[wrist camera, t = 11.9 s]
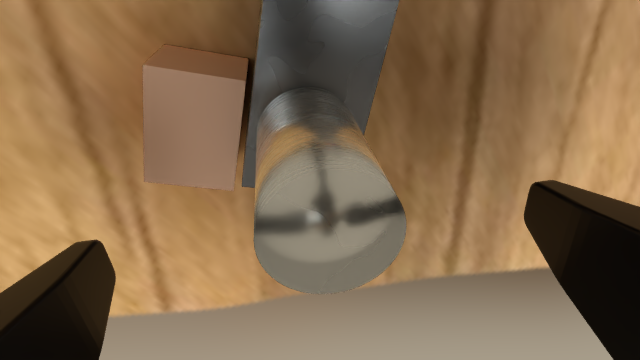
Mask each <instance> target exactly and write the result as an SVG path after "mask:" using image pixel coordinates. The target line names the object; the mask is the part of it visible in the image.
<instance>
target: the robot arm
mask: <svg viewBox="0 0 640 360" xmlns="http://www.w3.org/2000/svg"><path fill="white" fill-rule="evenodd" d="M524 221H525V224H526V226H527V228H528V230H529V231H530V233H531V235H532V237H533V239H534V240H535V242H536V244H537V246H538V247H539V249H540V251H541V253H542V254H543V256H544V258H545V260H546V261H547V263H548V265H549V267H550V268H551V270H552V272H553V274H554V275H555V277H556V278H557V280H558V282H559V283H560V285H561V286H562V288H563V289H564V291H565V292H566V294H567V295H568V296H569V298H570V299H571V301H572V302H573V303H574V305H575V306H576V308H577V309H578V310H579V312H580V313H581V315H582V316H583V318H584V319H585V320H586V322H587V323H588V325H589V326H590V327H591V329H592V330H593V332H594V333H595V334H596V336H597V337H598V338H599V340H600V341H601V343H602V344H603V346H604V347H605V348H606V350H607V351H608V352H609V354H610V355H611V357H612V358H613V360H640V207H638V206H635V205H632V204H629V203H626V202H622V201H619V200H616V199H613V198H609V197H606V196H603V195H600V194H597V193H593V192H590V191H587V190H584V189H581V188H577V187H574V186H571V185H568V184H564V183H561V182H558V181H555V180H547V181H540V182H535V183H533V184H532V185H531V187H530V189H529V194H528V198H527V202H526V207H525V211H524ZM115 280H116V276H115V271H114V268H113V266H112V263H111V261H110V259H109V257H108V254H107V252H106V250H105V248H104V246H103V244H102V243H101V242H100V241H98V240H89V241H81V242H77V243H75V244H73V245H71V246H70V247H68V248H67V249H65V250H64V251H62V252H61V253H59V254H58V255H56V256H55V257H54V258H52V259H51V260H49V261H48V262H46V263H45V264H43V265H42V266H40V267H39V268H37V269H36V270H34V271H33V272H31V273H30V274H28V275H27V276H25V277H24V278H22V279H21V280H19V281H18V282H16V283H15V284H13V285H12V286H10V287H9V288H7V289H6V290H4V291H3V292H1V293H0V360H99V356H100V353H101V349H102V345H103V341H104V336H105V331H106V326H107V321H108V316H109V311H110V306H111V301H112V296H113V291H114V286H115Z"/></svg>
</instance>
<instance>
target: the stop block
mask: <svg viewBox="0 0 640 360" xmlns="http://www.w3.org/2000/svg"><path fill="white" fill-rule="evenodd" d="M247 68H248V58H242V57H236V56H230V55H225V54H219V53H213V52H207V51H201V50H195V49H189V48H183V47H177V46H172V45H166V44H164V45H163V46H162V47H161V48H160V49H159V50H158V51H157V52H155V53H154V54H153V55H152V56H151V57H150V58H149V59H148V60H147V61H146V62H145V63H144V64H143V134H144V182H150V183H160V184H170V185H179V186H189V187H199V188H209V189H219V190H229V191H234V184H235V175H236V167H237V158H238V149H239V140H240V131H241V122H242V113H243V104H244V95H245V86H246V77H247Z"/></svg>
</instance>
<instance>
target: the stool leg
mask: <svg viewBox="0 0 640 360" xmlns="http://www.w3.org/2000/svg"><path fill="white" fill-rule="evenodd" d="M398 3H399V0H261V7H260V16H259V25H258V34H257V43H256V51H255V60H254V69H253V78H252V87H251V96H250V105H249V113H248V122H247V131H246V141H245V153H244V165H243V177H242V187H252V188H255V213H254V247H255V252H256V255H257V258H258V260H259V262H260V264H261V265H262V267H263V268H264V270H265V271H266V272H267V273H268V274H269V275H270V276H271V277H272V278H274V279H275V280H276V281H277V282H279V283H281V284H282V285H284V286H286V287H289V288H291V289H294V290H297V291H300V292H305V293H311V294H332V293H339V292H344V291H347V290H351V289H354V288H356V287H359V286H362V285H363V284H365V283H367V282H369V281H371V280H372V279H374V278H376V277H377V276H378V275H380V274H381V273H382V272H383V271H384V270H385V269H386V268H387V267H388V266H389V265H390V264H391V263H392V262H393V261H394V259H395V258H396V256H397V255H398V253H399V252H400V249H401V247H402V245H403V242H404V239H405V234H406V217H405V212H404V209H403V207H402V204H401V203H400V201H399V199H398V197H397V195H396V193H395V192H394V190H393V188H392V186H391V184H390V183H389V181H388V179H387V177H386V175H385V173H384V172H383V170H382V168H381V166H380V164H379V163H378V161H377V159H376V157H375V155H374V154H373V152H372V150H371V148H370V146H369V144H368V143H367V141H366V139H365V137H364V132H365V129H366V125H367V121H368V117H369V113H370V110H371V106H372V102H373V98H374V94H375V91H376V87H377V83H378V79H379V75H380V72H381V68H382V64H383V60H384V57H385V53H386V49H387V45H388V41H389V38H390V34H391V30H392V26H393V22H394V19H395V15H396V11H397V7H398Z"/></svg>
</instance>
